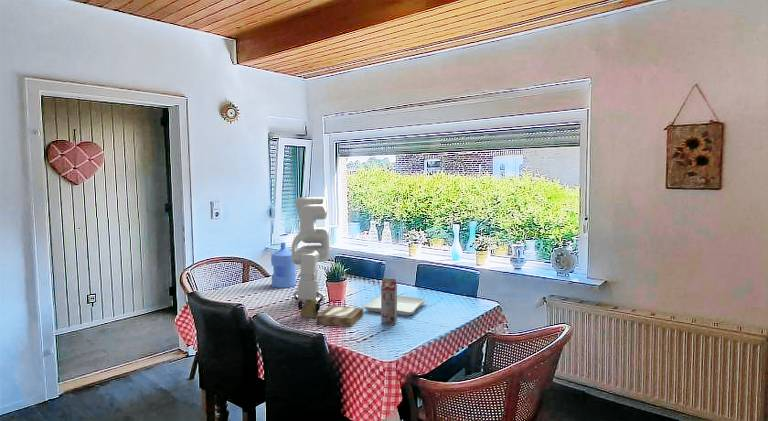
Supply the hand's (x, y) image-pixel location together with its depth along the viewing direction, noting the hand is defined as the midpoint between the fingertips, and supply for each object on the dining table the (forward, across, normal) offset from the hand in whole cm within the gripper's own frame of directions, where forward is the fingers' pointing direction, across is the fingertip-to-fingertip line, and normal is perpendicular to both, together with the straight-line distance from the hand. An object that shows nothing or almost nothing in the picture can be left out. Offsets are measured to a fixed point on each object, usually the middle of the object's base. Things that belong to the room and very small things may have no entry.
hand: (309, 309), depth 246 cm
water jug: (+4, -45, +59) cm, 74 cm away
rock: (+4, 0, +1) cm, 4 cm away
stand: (+4, +17, 0) cm, 17 cm away
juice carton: (+4, +42, +2) cm, 42 cm away
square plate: (+4, +39, +27) cm, 48 cm away
